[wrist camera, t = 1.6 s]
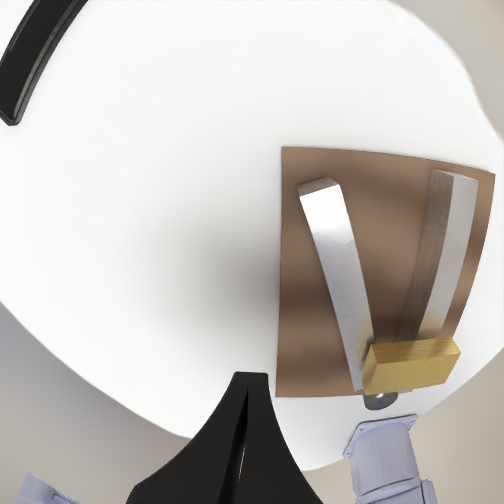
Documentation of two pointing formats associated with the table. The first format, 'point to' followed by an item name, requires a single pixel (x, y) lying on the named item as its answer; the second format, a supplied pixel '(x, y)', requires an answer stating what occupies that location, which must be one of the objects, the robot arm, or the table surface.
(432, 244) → the fixed tong arm
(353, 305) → the bar
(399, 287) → the walnut board
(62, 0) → the phone
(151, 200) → the table surface
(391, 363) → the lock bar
